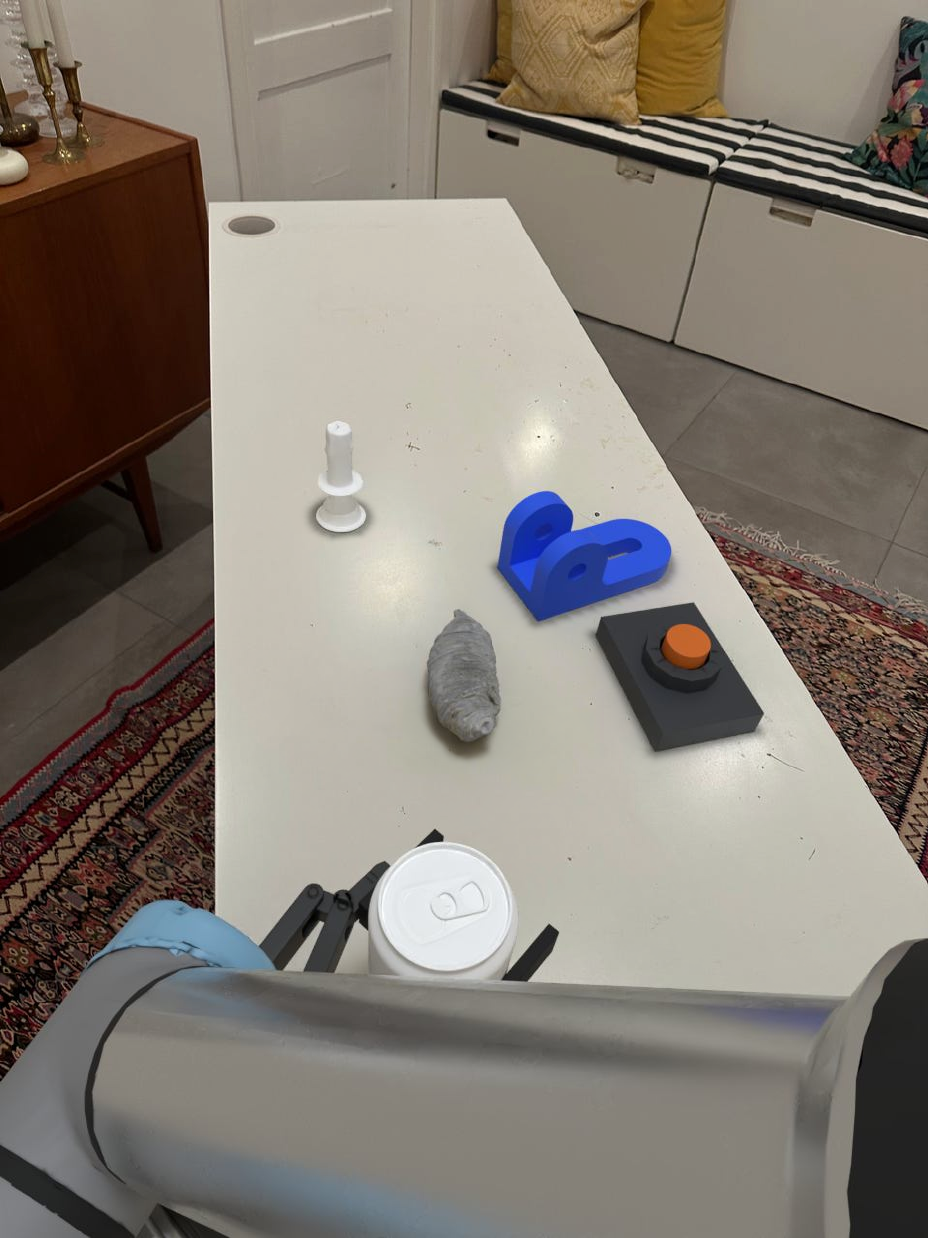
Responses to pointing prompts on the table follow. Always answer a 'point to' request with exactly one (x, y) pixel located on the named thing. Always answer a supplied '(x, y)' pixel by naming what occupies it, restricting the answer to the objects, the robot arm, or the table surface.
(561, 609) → the bracket
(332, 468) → the candle
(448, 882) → the beverage can
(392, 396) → the table surface
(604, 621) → the push button base
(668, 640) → the switch
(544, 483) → the table surface
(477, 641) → the grey ridged oval piece
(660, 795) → the table surface
